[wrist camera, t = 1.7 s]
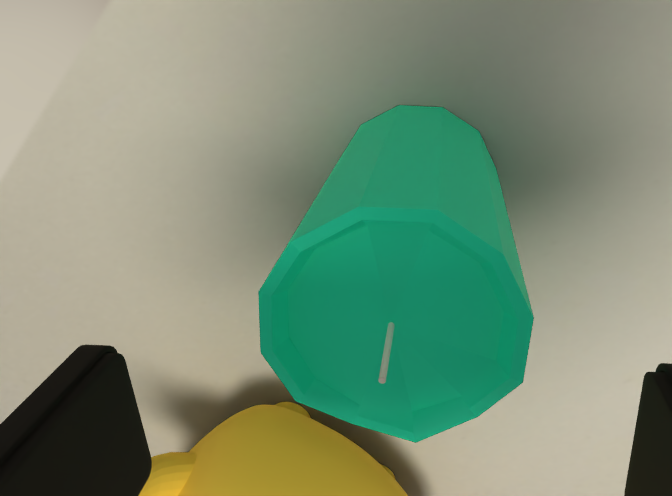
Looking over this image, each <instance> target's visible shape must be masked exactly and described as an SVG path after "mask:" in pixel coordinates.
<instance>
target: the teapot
mask: <svg viewBox="0 0 672 496" xmlns="http://www.w3.org/2000/svg"><path fill="white" fill-rule="evenodd" d="M151 460H152V468H151V473H150V476H149V478H148V480H147V482H146V484H145V485H144V487H143V489H142V490H141V492H140V494H139V495H138V496H408V495H407V494H406V492H405V491H404V490H403V489H402V487H401V486H400V485H399V483H398V482H397V481H396V480H395V476H394V474H393V473H392V471H391V470H390V469H388V468H387V467H386V466H384V465H381V464H379V463H378V462H377V461H376V460H375V459H374V458H373V457H371V456H370V455H369V454H368V453H367V452H366V451H364V450H363V449H362V448H360V447H359V446H358V445H356V444H355V443H354V442H352V441H351V440H349V439H348V438H346V437H345V436H343V435H341V434H339V433H338V432H336V431H334V430H332V429H331V428H329V427H327V426H325V425H323V424H321V423H319V422H317V421H315V420H313V419H311V418H310V415H309V414H308V412H307V411H306V410H305V409H304V408H303V407H301V406H300V405H298V404H295V403H292V402H280V403H277V404H275V405H265V404H262V405H255V406H253V407H250V408H247V409H245V410H243V411H240V412H238V413H236V414H234V415H233V416H231V417H229V418H228V419H226V420H225V421H224V422H222V423H221V424H219V425H218V426H217V427H215V428H214V429H213V430H212V431H210V432H209V433H208V434H207V435H206V436H205V437H203V438H202V439H201V440H200V441H199V442H198V443H197V444H196V445H195V446H194V447H193V448H192V449H191V450H190V451H189V452H170V453H165V454H161V455H157V456H153V457H151Z"/></svg>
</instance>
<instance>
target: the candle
mask: <svg viewBox="0 0 672 496" xmlns="http://www.w3.org/2000/svg"><path fill="white" fill-rule="evenodd" d="M259 319H260V347H261V354H262V355H263V356H264V358H265V359H266V361H267V362H268V363H269V365H270V366H271V368H272V369H273V370H274V372H275V373H276V375H277V376H278V377H279V379H280V380H281V382H282V383H283V384H284V386H285V387H286V389H287V390H288V391H289V393H290V394H291V396H292V397H293V398H294V400H295V401H296V402H299V403H301V404H304V405H306V406H309V407H311V408H314V409H316V410H319V411H321V412H324V413H326V414H329V415H331V416H334V417H336V418H339V419H341V420H344V421H346V422H349V423H351V424H354V425H357V426H361V427H364V428H368V429H371V430H375V431H378V432H381V433H385V434H388V435H392V436H395V437H398V438H402V439H405V440H409V441H412V442H418V441H421V440H423V439H426V438H428V437H430V436H433V435H435V434H438V433H440V432H442V431H445V430H447V429H450V428H452V427H454V426H457V425H459V424H462V423H464V422H466V421H469V420H471V419H474V418H476V417H478V416H479V415H481V414H482V413H483V412H485V411H486V410H487V409H489V408H490V407H491V406H493V405H494V404H495V403H496V402H498V401H499V400H500V399H502V398H503V397H504V396H506V395H507V394H508V393H510V392H511V391H512V390H514V389H515V388H516V387H518V386H519V385H520V384H522V383H523V378H524V372H525V366H526V360H527V355H528V349H529V343H530V337H531V331H532V325H533V319H534V317H533V313H532V309H531V305H530V301H529V297H528V293H527V289H526V285H525V281H524V277H523V273H522V269H521V265H520V261H519V257H518V253H517V249H516V245H515V241H514V237H513V233H512V229H511V226H510V222H509V218H508V214H507V210H506V206H505V202H504V198H503V194H502V190H501V186H500V182H499V178H498V174H497V170H496V167H495V165H494V163H493V161H492V158H491V156H490V154H489V152H488V150H487V148H486V145H485V143H484V141H483V139H482V137H481V135H480V132H479V131H478V130H477V129H475V128H474V127H472V126H470V125H469V124H467V123H466V122H464V121H463V120H461V119H460V118H458V117H457V116H455V115H454V114H452V113H451V112H449V111H448V110H446V109H445V108H443V107H428V106H408V105H398V106H396V107H394V108H392V109H390V110H388V111H386V112H384V113H383V114H381V115H379V116H377V117H375V118H373V119H371V120H369V121H367V122H365V123H363V124H361V125H360V127H359V129H358V130H357V132H356V133H355V135H354V137H353V138H352V140H351V141H350V143H349V145H348V146H347V148H346V149H345V151H344V153H343V154H342V156H341V157H340V159H339V161H338V162H337V164H336V165H335V167H334V169H333V170H332V172H331V174H330V175H329V177H328V179H327V180H326V182H325V184H324V185H323V187H322V188H321V190H320V192H319V193H318V195H317V197H316V198H315V200H314V202H313V203H312V205H311V207H310V208H309V210H308V211H307V213H306V215H305V216H304V218H303V220H302V221H301V223H300V225H299V226H298V228H297V230H296V231H295V233H294V234H293V236H292V238H291V239H290V241H289V243H288V244H287V246H286V248H285V249H284V251H283V253H282V254H281V256H280V257H279V259H278V261H277V262H276V264H275V266H274V267H273V269H272V271H271V272H270V274H269V276H268V277H267V279H266V280H265V282H264V284H263V285H262V287H261V289H260V290H259Z"/></svg>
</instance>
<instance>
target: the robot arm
mask: <svg viewBox="0 0 672 496" xmlns="http://www.w3.org/2000/svg"><path fill="white" fill-rule="evenodd" d="M151 468H152V460H151V455H150V452H149V448H148V444H147V440H146V437H145V433H144V429H143V425H142V422H141V418H140V414H139V410H138V407H137V403H136V399H135V395H134V392H133V388H132V384H131V380H130V377H129V373H128V369H127V365H126V362H125V359H124V357H123V356H122V354H119V353H117V350H116V349H115V348H114V347H112V346H105V345H82V346H80V347H78V348H77V349H76V350H75V351H74V352H73V353H72V354H71V355H70V356H69V357H68V358H67V359H66V360H65V361H64V362H63V363H62V364H61V365H60V366H59V367H58V368H57V369H56V370H55V371H54V372H53V373H52V374H51V375H50V376H49V377H48V378H47V379H46V380H45V381H44V382H43V383H42V384H41V385H40V386H39V387H38V388H37V389H36V390H35V391H34V392H33V393H32V394H31V395H30V396H29V397H28V398H27V399H26V400H25V401H23V402H22V403H21V404H20V405H19V406H18V407H17V408H16V409H15V410H14V411H13V412H12V413H11V414H10V415H9V416H8V417H7V418H6V419H5V420H4V421H3V422H2V423H1V424H0V496H138V495H139V494H140V492H141V490H142V489H143V487H144V485H145V484H146V482H147V480H148V478H149V476H150V473H151ZM624 496H672V364H665V363H661V364H659V365H658V367H657V369H656V372H647V373H646V374H645V376H644V380H643V386H642V392H641V398H640V404H639V410H638V416H637V422H636V428H635V434H634V440H633V446H632V452H631V458H630V464H629V470H628V475H627V481H626V487H625V495H624Z"/></svg>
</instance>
